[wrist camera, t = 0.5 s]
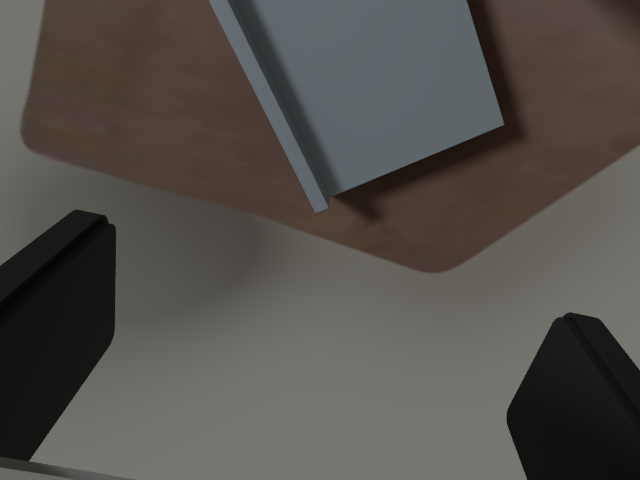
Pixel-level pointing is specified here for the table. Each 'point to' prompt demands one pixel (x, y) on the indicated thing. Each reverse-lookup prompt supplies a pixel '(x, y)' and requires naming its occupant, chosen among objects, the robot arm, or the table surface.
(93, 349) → the robot arm
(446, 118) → the stand
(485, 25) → the table surface
